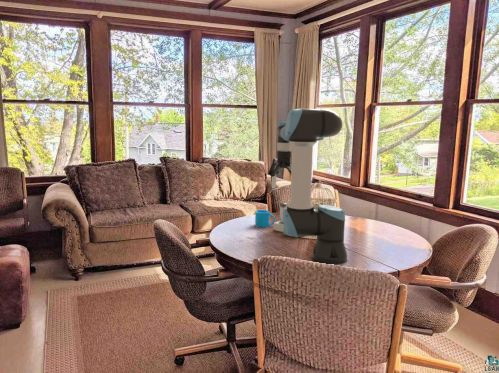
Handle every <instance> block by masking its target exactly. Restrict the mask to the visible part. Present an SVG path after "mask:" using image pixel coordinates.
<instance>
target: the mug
mask: <svg viewBox="0 0 499 373" xmlns="http://www.w3.org/2000/svg"><path fill="white" fill-rule="evenodd" d="M254 214H255V219H254V220H255V221H254V222H255V224H254V225H255V227H257V226H258V227H257V228H267V227H269V226H272V225H274V223H275V222H276V217H275V215H274V214H272V213H270V211H269V210H267V209H257V210H255V213H254ZM270 216H271V217H272V218H273V222H272V223H270Z"/></svg>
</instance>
